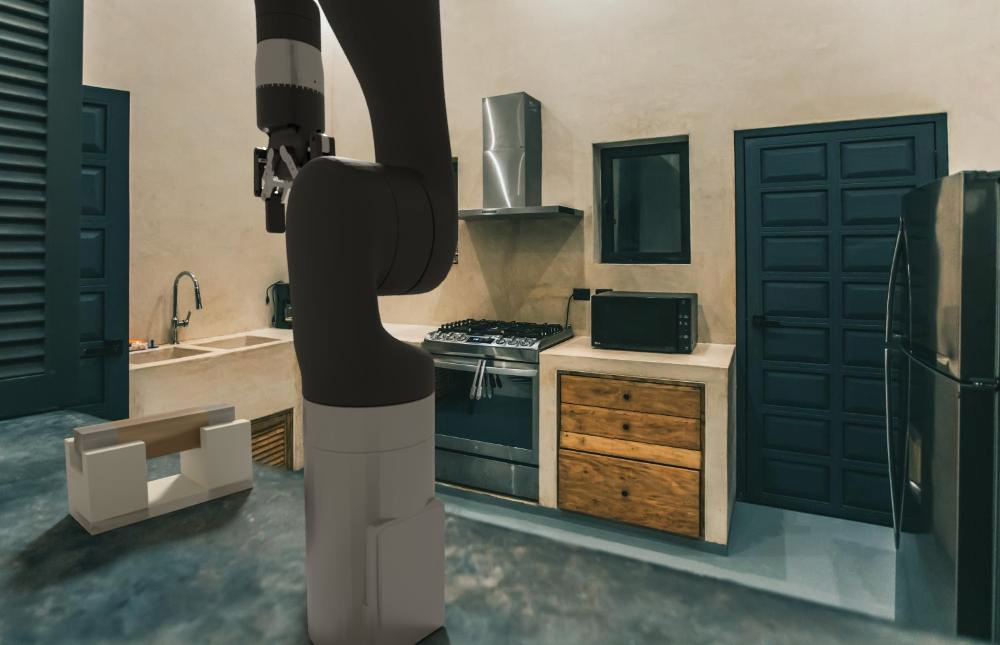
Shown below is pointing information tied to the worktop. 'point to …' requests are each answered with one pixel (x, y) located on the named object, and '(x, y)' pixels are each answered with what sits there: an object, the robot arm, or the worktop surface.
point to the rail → (154, 431)
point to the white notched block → (130, 498)
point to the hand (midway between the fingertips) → (294, 231)
